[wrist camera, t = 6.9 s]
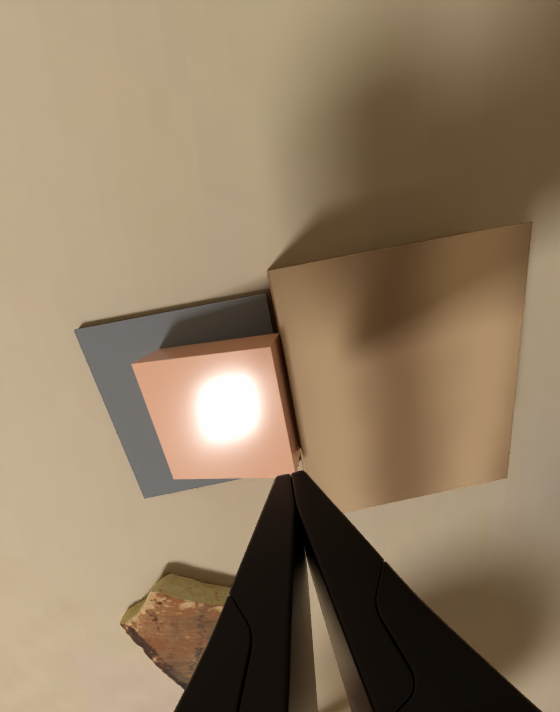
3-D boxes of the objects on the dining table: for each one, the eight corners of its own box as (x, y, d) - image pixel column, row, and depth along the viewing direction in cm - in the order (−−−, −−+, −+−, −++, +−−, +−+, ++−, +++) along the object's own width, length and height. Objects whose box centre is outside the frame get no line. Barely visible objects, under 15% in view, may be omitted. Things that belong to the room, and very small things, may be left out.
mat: (265, 292, 13) (265, 293, 13) (297, 463, 16) (298, 466, 16) (77, 328, 13) (73, 329, 13) (146, 494, 16) (144, 498, 16)
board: (472, 231, 13) (532, 221, 10) (464, 442, 17) (507, 477, 14) (266, 270, 13) (269, 271, 10) (304, 476, 17) (314, 518, 14)
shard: (200, 675, 22) (196, 709, 21) (103, 660, 21) (89, 695, 19) (253, 583, 20) (253, 613, 18) (146, 558, 18) (135, 588, 17)
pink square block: (279, 332, 12) (270, 347, 10) (300, 447, 14) (296, 477, 12) (158, 348, 13) (131, 363, 11) (192, 452, 15) (173, 479, 13)
